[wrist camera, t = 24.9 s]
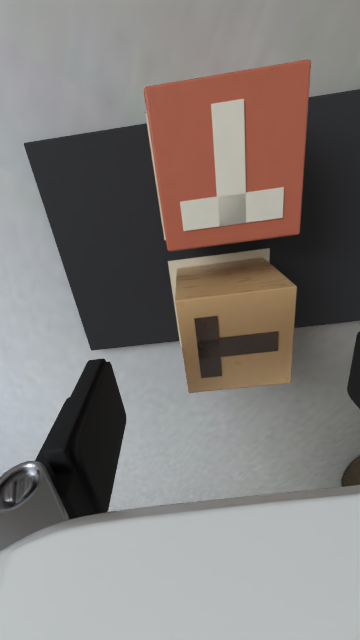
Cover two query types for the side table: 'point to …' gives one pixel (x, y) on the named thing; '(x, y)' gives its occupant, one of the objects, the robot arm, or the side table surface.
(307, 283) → the word mat
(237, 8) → the side table surface
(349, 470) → the pillar candle
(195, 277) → the maple block
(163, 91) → the terracotta block
